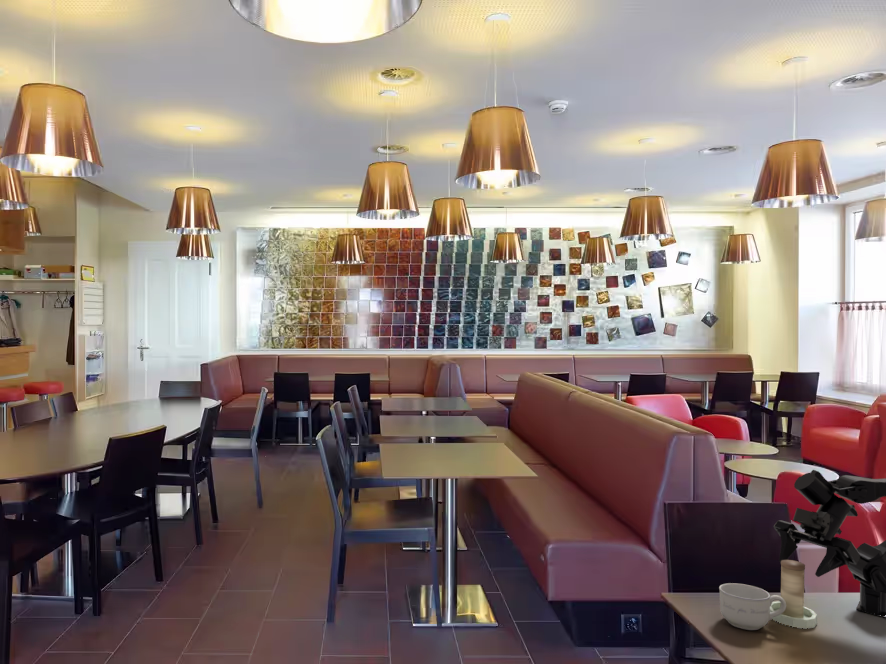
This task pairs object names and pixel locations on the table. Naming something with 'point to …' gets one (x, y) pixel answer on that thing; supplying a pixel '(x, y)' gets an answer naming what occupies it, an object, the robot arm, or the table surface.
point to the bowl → (804, 623)
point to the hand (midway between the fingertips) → (798, 568)
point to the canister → (793, 587)
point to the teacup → (747, 605)
